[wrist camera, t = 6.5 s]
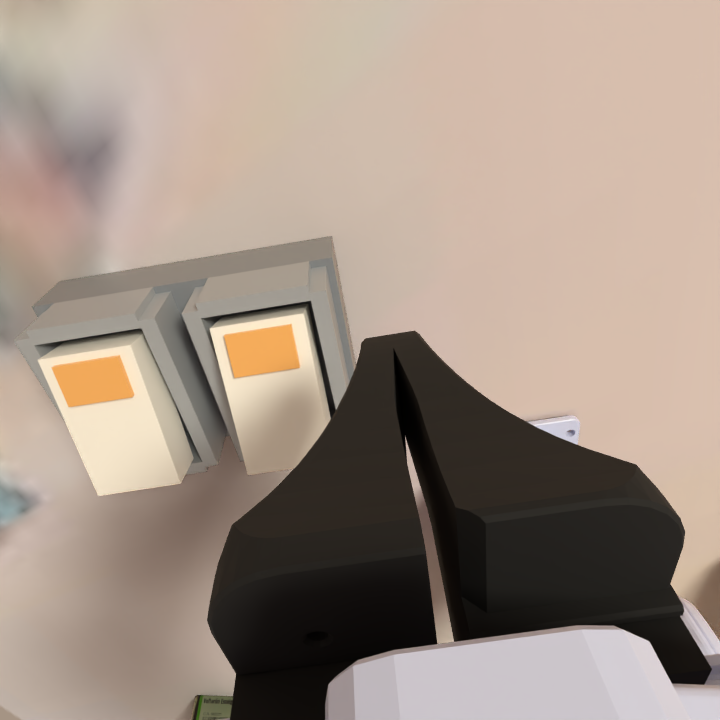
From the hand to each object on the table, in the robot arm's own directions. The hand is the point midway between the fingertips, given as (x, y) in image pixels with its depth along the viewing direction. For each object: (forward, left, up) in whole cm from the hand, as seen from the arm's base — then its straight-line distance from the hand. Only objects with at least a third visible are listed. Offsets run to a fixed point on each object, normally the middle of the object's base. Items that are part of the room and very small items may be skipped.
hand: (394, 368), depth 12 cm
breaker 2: (-4, +4, -6) cm, 8 cm away
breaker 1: (-4, +11, -6) cm, 13 cm away
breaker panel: (-4, +8, -10) cm, 13 cm away
